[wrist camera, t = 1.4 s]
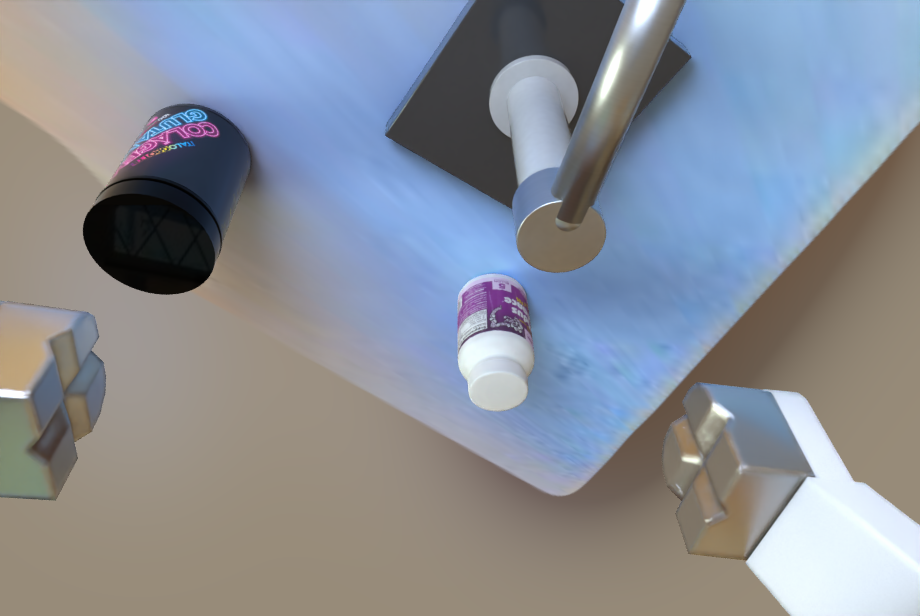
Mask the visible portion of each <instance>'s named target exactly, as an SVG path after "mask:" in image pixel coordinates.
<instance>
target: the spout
mask: <svg viewBox="0 0 920 616" xmlns="http://www.w3.org/2000/svg"><path fill="white" fill-rule="evenodd" d="M685 2H686V0H626V1H625V4H624V6H623V9H622V11H621V14H620V16H619V19H618V21H617V24H616V26H615V29H614V31H613V34H612V36H611V39H610V41H609V44H608V46H607V49H606V52H605V54H604V57H603V59H602V62H601V64H600V67H599V69H598V72H597V74H596V77H595V79H594V82H593V84H592V87H591V89H590V92H589V94H588V97H587V99H586V102H585V104H584V107H583V109H582V112H581V115H580V117H579V120H578V122H577V125H576V127H575V130H574V132H573V135H572V137H571V140H570V142H569V145H568V147H567V150H566V152H565V155H564V157H563V160H562V162H561V165H560V167H551V168H546V169H543V170H540V171H538V172H535V173H534V174H532V175H530V176H529V177H528V178H526V179H525V180H524V181H523V182H522V183H521V184H520V186H519V187H518V189H517V190H516V192H515V194H514V197H513V202H512V211H513V219H514V227H515V235H516V243H517V248H518V251H519V253H520V255H521V256H522V258H523V259H524V260H525V261H526V262H527V263H528V264H530V265H531V266H533V267H535V268H537V269H539V270H542V271H546V272H553V273H560V272H568V271H572V270H575V269H578V268H580V267H582V266H584V265H586V264H587V263H589V262H590V261H591V260H593V259H594V258H595V257H596V256H597V255H598V253H599V252H600V250H601V249H602V247H603V245H604V242H605V238H606V226H605V222H604V219H603V215H602V212H601V208H600V205H599V201H598V198H597V197H598V195H599V193H600V190H601V188H602V186H603V184H604V181H605V179H606V177H607V175H608V173H609V170H610V168H611V166H612V164H613V162H614V159H615V157H616V155H617V153H618V150H619V148H620V146H621V144H622V142H623V139H624V137H625V135H626V133H627V131H628V128H629V126H630V124H631V122H632V120H633V117H634V115H635V113H636V111H637V108H638V106H639V104H640V102H641V100H642V97H643V95H644V93H645V91H646V89H647V86H648V84H649V82H650V80H651V77H652V75H653V73H654V71H655V69H656V66H657V64H658V62H659V60H660V58H661V55H662V53H663V51H664V49H665V46H666V44H667V42H668V40H669V38H670V35H671V33H672V31H673V29H674V27H675V24H676V22H677V20H678V18H679V15H680V13H681V11H682V9H683V7H684V4H685Z"/></svg>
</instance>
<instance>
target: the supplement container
mask: <svg viewBox="0 0 920 616" xmlns="http://www.w3.org/2000/svg"><path fill="white" fill-rule="evenodd" d="M250 168H251V156H250V151H249V148H248V145H247V142H246V140H245V138H244V137H243V135H242V133H241V132H240V131H239V129H238V128H237V127H236V126H235V125H234V124H233V123H232V122H231V121H230V120H229V119H227V118H226V117H225V116H223V115H222V114H220V113H218V112H216V111H214V110H212V109H210V108H207V107H204V106H200V105H194V104H178V105H173V106H169V107H166V108H164V109H162V110H160V111H158V112H157V113H155V114H154V115H153V116H152V117H151V118H150V119H149V121H148V122H147V123H146V125H145V127H144V128H143V130H142V131H141V133H140V134H139V136H138V137H137V139H136V141H135V142H134V144H133V145H132V147H131V148H130V150H129V151H128V153H127V155H126V156H125V158H124V159H123V161H122V162H121V164H120V165H119V167H118V168H117V170H116V172H115V173H114V175H113V176H112V178H111V179H110V181H109V182H108V184H107V186H106V187H105V188H104V189H103V190H102V191H101V193H100V194H99V196H98V197H97V199H96V201H95V203H94V205H93V206H92V208H91V209H90V211H89V212H88V214H87V216H86V218H85V221H84V225H83V236H84V241H85V244H86V247H87V249H88V251H89V253H90V255H91V256H92V258H93V259H94V260H95V261H96V263H97V264H98V265H99V266H100V267H101V268H102V269H103V270H104V271H105V272H106V273H108V274H109V275H110V276H112V277H113V278H115V279H116V280H118V281H120V282H121V283H123V284H125V285H128V286H129V287H132V288H134V289H137V290H141V291H144V292H148V293H154V294H166V295H167V294H168V295H169V294H179V293H184V292H187V291H190V290H193V289H195V288H197V287H198V286H200V285H201V284H203V283H204V282H205V281H206V280H207V279H208V277H209V276H210V274H211V273H212V271H213V268H214V265H215V263H216V260H217V258H218V256H219V254H220V251H221V248H222V243H223V240H224V238H225V235H226V232H227V230H228V227H229V224H230V222H231V219H232V217H233V214H234V211H235V209H236V206H237V204H238V201H239V198H240V196H241V193H242V190H243V188H244V185H245V183H246V180H247V177H248V175H249V172H250Z"/></svg>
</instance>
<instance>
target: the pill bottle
mask: <svg viewBox="0 0 920 616" xmlns="http://www.w3.org/2000/svg"><path fill="white" fill-rule="evenodd" d="M458 364H459V369H460V371H461V373H462V375H463V376H464V378H465V379H466V380H467V381H468V390H469V396H470V399H471V400H472V402H473V403H474V404H476V405H477V406H478V407H480V408H482V409H485V410H489V411H505V410H509V409H512V408H515V407H517V406H518V405H520V404H521V403H522V402H523V401H524V400H525V398H526V397H527V394H528V376H529V375H530V373H531V372H532V369H533V366H534V348H533V340H532V333H531V325H530V317H529V310H528V303H527V296H526V293H525V291H524V289H523V287H522V286H521V285H520V284H519V282H518V281H516V280H515V279H513V278H511V277H509V276H507V275H502V274H495V273H491V274H484V275H480V276H478V277H475V278H473V279H472V280H470V281H469V282H467V283H466V284H465V285H464V287H463V288H462V290H461V291H460V293H459V296H458Z"/></svg>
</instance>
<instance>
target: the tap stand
mask: <svg viewBox="0 0 920 616" xmlns="http://www.w3.org/2000/svg"><path fill="white" fill-rule="evenodd" d="M625 1H626V0H469V1H468V3H467V4H466V6H465V7H464V9H463V10H462V12H461V13H460V15H459V16H458V18H457V19H456V21H455V22H454V24H453V25H452V27H451V28H450V30H449V31H448V33H447V34H446V36H445V37H444V39H443V40H442V42H441V43H440V45H439V46H438V48H437V49H436V51H435V52H434V54H433V55H432V57H431V58H430V60H429V61H428V63H427V64H426V66H425V67H424V69H423V70H422V72H421V73H420V75H419V76H418V78H417V79H416V81H415V82H414V84H413V85H412V87H411V88H410V89H409V91H408V92H407V94H406V95H405V97H404V98H403V100H402V101H401V103H400V104H399V106H398V107H397V109H396V110H395V112H394V113H393V115H392V116H391V118H390V119H389V121H388V122H387V125H386V133H385V136H386V137H388V138H390V139H392V140H393V141H395V142H397V143H399V144H400V145H402V146H404V147H405V148H407V149H409V150H411V151H412V152H414V153H416V154H418V155H419V156H421V157H423V158H424V159H426V160H428V161H430V162H431V163H433V164H435V165H437V166H438V167H440V168H442V169H443V170H445V171H447V172H449V173H450V174H452V175H454V176H456V177H457V178H459V179H461V180H462V181H464V182H466V183H468V184H469V185H471V186H473V187H475V188H476V189H478V190H480V191H481V192H483V193H485V194H487V195H488V196H490V197H492V198H494V199H495V200H497V201H499V202H500V203H502V204H504V205H506V206H507V207H509V208H511V209H512V202H513V197H514V194H515V192H516V190H517V189H518V187H519V186H520V184H521V183H522V182H523V181H524V180H525V179H526V178H528V177H529V176H530V175H532V174H534V173H535V172H538V171H540V170H543V169H546V168H551V167H560V165H561V162H562V160H563V157H564V155H565V152H566V150H567V147H568V145H569V142H570V140H571V137H572V135H573V132H574V130H575V127H576V125H577V122H578V120H579V117H580V115H581V112H582V109H583V107H584V104H585V102H586V99H587V97H588V94H589V92H590V89H591V87H592V84H593V82H594V79H595V77H596V74H597V72H598V69H599V67H600V64H601V62H602V59H603V57H604V54H605V52H606V49H607V46H608V44H609V41H610V39H611V36H612V34H613V31H614V29H615V26H616V24H617V21H618V19H619V16H620V14H621V11H622V9H623V6H624V4H625ZM690 58H691V55H690V53H689V52H688V50H687V48H686V47H685V46H684V45H683V44H682V43H680V42H679V41H678V40H677V39H675V38H674V37H673V36H671V35H670V38H669V40H668V42H667V44H666V46H665V49H664V51H663V53H662V55H661V58H660V60H659V62H658V64H657V66H656V69H655V71H654V73H653V75H652V77H651V80H650V82H649V84H648V86H647V89H646V91H645V93H644V95H643V97H642V100H641V102H640V104H639V106H638V108H637V111H636V113H635V115H634V117H633V120H632V122H633V121H634V120H635V118H636V117H637V116H638V115H639V114H640V113H641V112H642V111H643V110H644V109H645V107H646V106H647V105H648V104H649V103H650V102H651V101H652V100H653V99H654V98H655V97H656V95H657V94H658V93H659V92H660V91H661V90H662V89H663V88H664V87H665V86H666V85H667V83H668V82H669V81H670V80H671V79H672V78H673V77H674V76H675V75H676V74H677V72H678V71H679V70H680V69H681V68H682V67H683V66H684V65H685V64H686V63H687V62H688V60H689V59H690ZM632 122H631V123H632Z"/></svg>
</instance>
